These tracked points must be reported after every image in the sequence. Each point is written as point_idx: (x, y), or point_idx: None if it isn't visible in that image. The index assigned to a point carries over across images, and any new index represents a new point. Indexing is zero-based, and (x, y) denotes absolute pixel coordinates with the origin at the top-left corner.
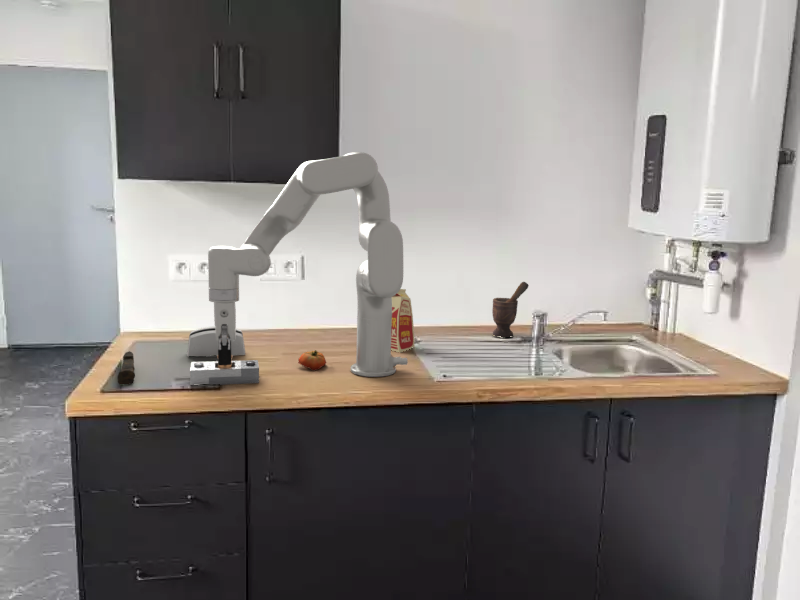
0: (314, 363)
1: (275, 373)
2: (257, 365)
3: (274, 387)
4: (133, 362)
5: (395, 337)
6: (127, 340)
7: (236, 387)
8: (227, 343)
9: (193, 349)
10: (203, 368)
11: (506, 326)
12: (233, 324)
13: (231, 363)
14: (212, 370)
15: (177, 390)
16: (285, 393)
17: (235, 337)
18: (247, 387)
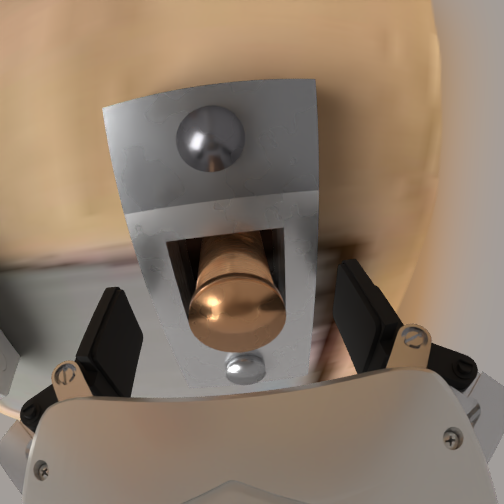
0: None
1: (117, 28)
2: (248, 88)
3: (361, 28)
4: None
5: None
6: (8, 413)
7: (344, 185)
8: (474, 365)
9: (8, 363)
10: (287, 349)
11: None
12: (496, 497)
13: (241, 256)
14: (313, 315)
15: (333, 348)
16: (429, 16)
17: (440, 380)
18: (351, 139)
